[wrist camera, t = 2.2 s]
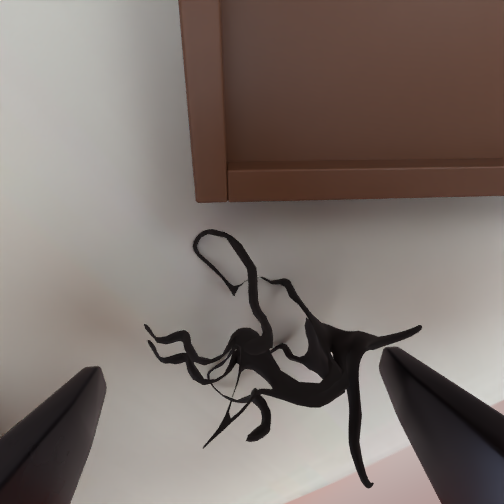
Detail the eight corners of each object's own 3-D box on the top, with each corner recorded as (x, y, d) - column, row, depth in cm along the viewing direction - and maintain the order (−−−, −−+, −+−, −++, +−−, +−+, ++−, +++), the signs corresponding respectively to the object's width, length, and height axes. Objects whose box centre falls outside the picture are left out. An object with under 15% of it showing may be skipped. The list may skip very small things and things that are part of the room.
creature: (176, 372, 14) (347, 391, 13) (111, 511, 9) (380, 559, 8) (150, 216, 10) (380, 224, 9) (22, 303, 5) (472, 339, 4)
